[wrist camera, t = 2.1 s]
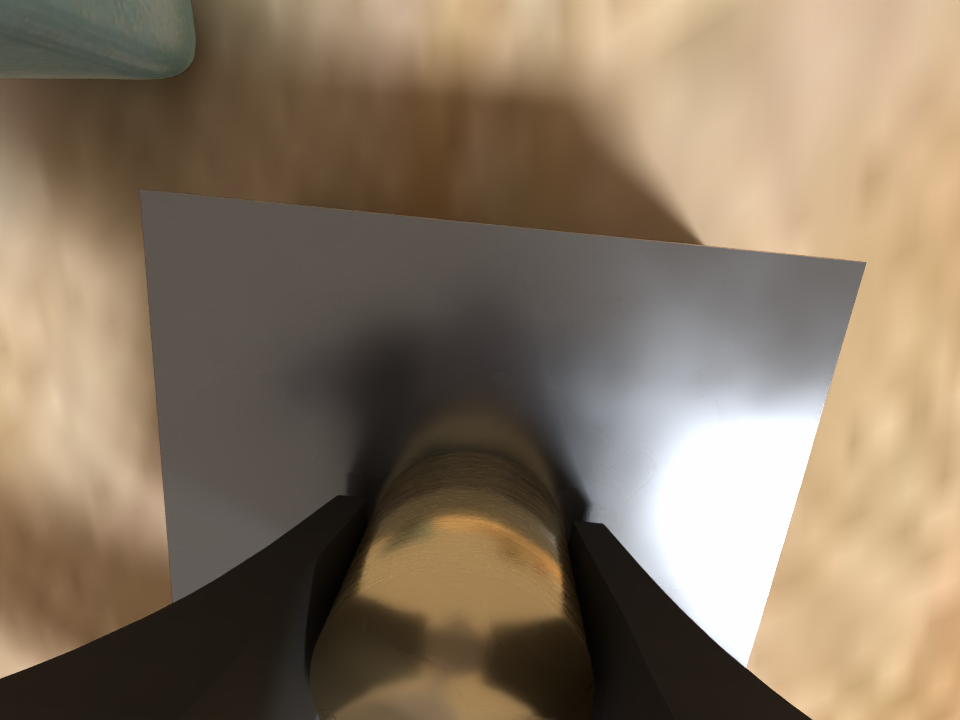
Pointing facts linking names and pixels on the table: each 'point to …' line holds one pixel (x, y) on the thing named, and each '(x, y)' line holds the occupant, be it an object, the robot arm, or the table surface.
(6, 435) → the table surface
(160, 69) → the flower pot
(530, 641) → the lid
